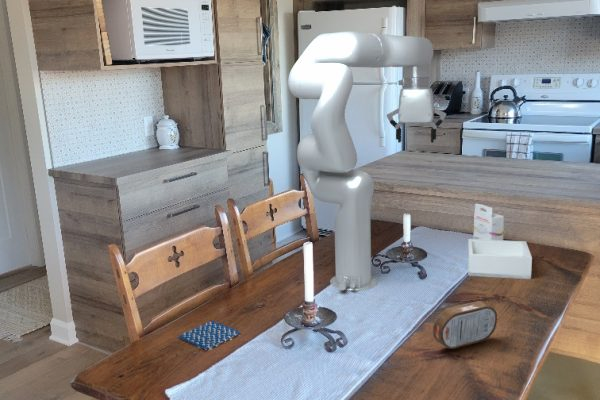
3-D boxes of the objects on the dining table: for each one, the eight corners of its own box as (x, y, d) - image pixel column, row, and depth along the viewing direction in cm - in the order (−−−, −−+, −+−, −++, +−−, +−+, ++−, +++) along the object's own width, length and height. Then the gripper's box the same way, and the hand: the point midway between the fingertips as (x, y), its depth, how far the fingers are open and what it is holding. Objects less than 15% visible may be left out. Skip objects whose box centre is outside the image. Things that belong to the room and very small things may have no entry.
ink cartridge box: (503, 253, 175) (505, 206, 172) (490, 255, 173) (492, 208, 170) (485, 245, 183) (486, 200, 180) (472, 248, 181) (473, 202, 178)
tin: (488, 332, 124) (490, 296, 122) (499, 338, 121) (500, 301, 120) (431, 348, 118) (431, 310, 117) (440, 354, 116) (441, 315, 114)
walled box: (530, 279, 153) (532, 257, 152) (468, 275, 158) (469, 254, 156) (524, 261, 168) (526, 241, 166) (467, 258, 172) (468, 239, 170)
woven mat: (175, 344, 125) (174, 335, 125) (212, 327, 133) (211, 318, 133) (206, 358, 119) (205, 349, 118) (243, 339, 126) (243, 331, 126)
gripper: (385, 85, 167) (385, 143, 171) (446, 83, 163) (445, 143, 167) (388, 84, 174) (388, 140, 178) (447, 82, 170) (445, 140, 174)
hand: (415, 142), depth 172 cm, fingers open, 9 cm apart
